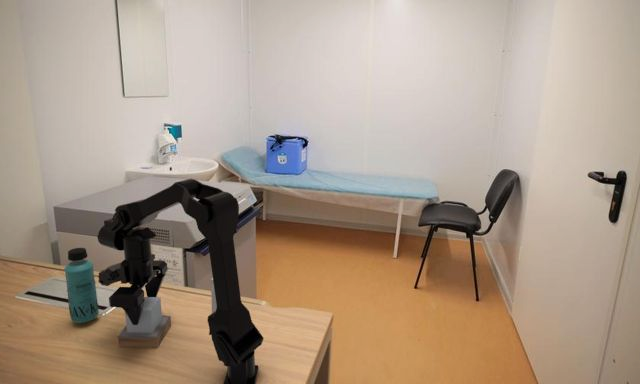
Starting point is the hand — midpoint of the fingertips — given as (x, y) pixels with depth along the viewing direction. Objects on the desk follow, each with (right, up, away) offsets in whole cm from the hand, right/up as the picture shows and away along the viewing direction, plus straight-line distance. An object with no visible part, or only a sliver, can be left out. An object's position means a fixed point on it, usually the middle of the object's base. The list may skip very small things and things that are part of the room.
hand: (143, 313), depth 96 cm
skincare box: (+17, -4, +11) cm, 21 cm away
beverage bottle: (-18, -4, +7) cm, 20 cm away
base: (0, -6, +1) cm, 6 cm away
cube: (0, -3, +1) cm, 3 cm away
